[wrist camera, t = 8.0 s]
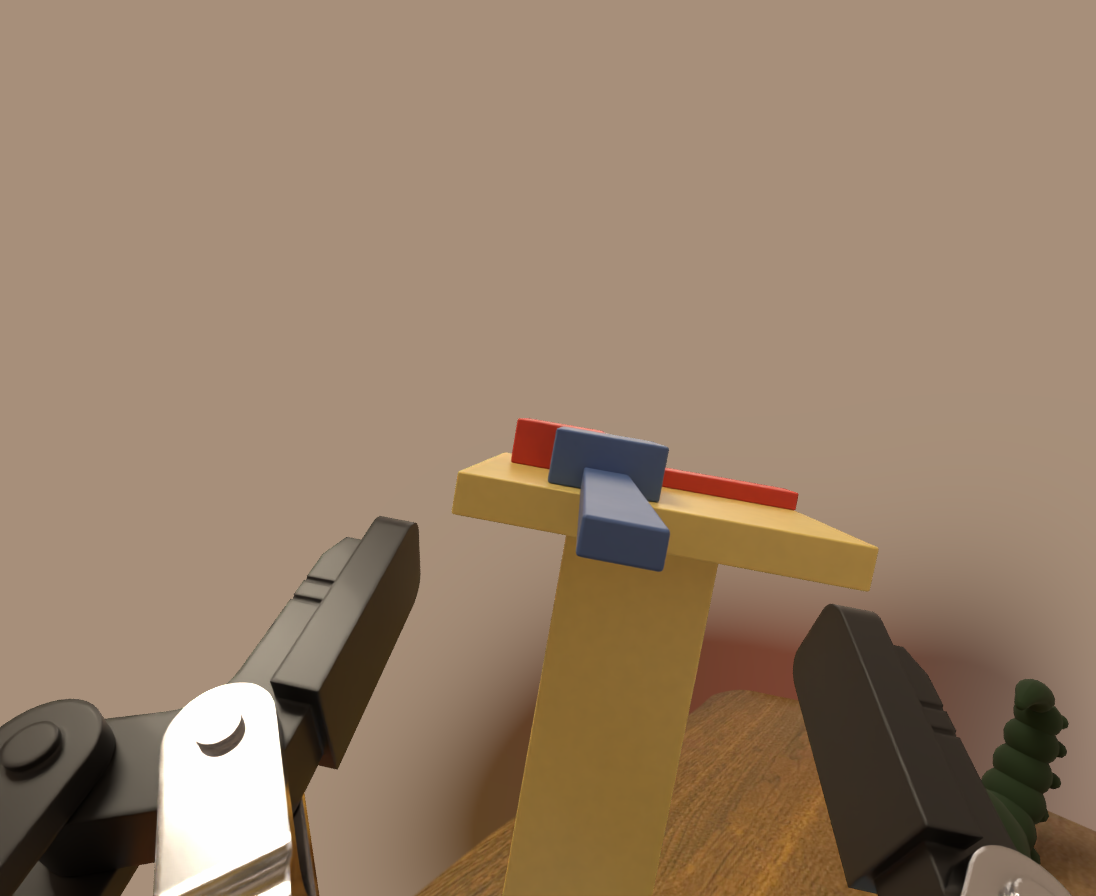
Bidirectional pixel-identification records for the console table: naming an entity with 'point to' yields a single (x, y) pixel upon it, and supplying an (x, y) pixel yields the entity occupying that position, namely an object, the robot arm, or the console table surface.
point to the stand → (628, 669)
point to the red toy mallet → (537, 451)
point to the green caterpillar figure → (1026, 764)
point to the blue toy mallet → (614, 495)
